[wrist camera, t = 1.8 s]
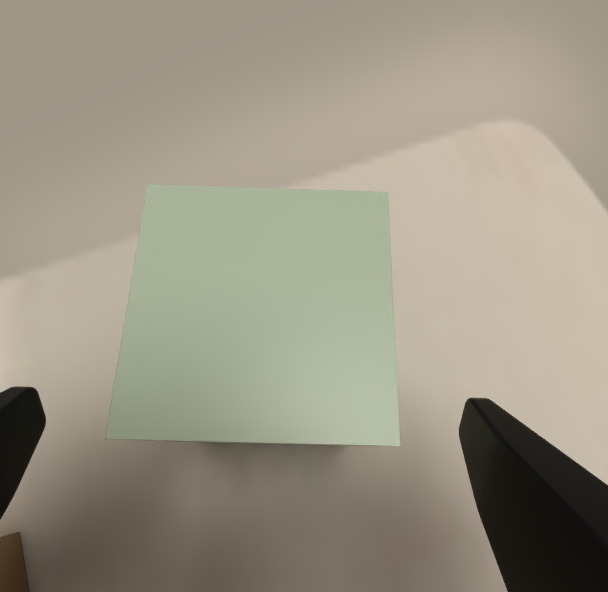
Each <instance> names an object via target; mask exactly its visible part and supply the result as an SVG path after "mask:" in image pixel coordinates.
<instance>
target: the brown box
mask: <svg viewBox="0 0 608 592" xmlns="http://www.w3.org/2000/svg"><path fill="white" fill-rule="evenodd" d="M0 592H29V589H28V583H27V577H26V571H25V565H24V559H23V553H22V547H21V541H20V535H19V532H17V533H14V534H11V535H7V536H4V537H1V538H0Z"/></svg>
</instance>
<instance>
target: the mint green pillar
mask: <svg viewBox="0 0 608 592" xmlns="http://www.w3.org/2000/svg"><path fill="white" fill-rule="evenodd" d="M105 439H123V440H151V441H179V442H211V443H252V444H293V445H335V446H400V430H399V409H398V388H397V367H396V346H395V325H394V304H393V283H392V263H391V242H390V221H389V200H388V192H371V191H340V190H309V189H278V188H247V187H215V186H185V185H153V184H152V185H151V184H147V188H146V194H145V200H144V207H143V213H142V219H141V225H140V231H139V237H138V243H137V249H136V255H135V261H134V267H133V273H132V279H131V285H130V291H129V297H128V303H127V309H126V315H125V321H124V327H123V333H122V339H121V345H120V351H119V357H118V363H117V369H116V375H115V381H114V387H113V394H112V400H111V406H110V412H109V418H108V424H107V430H106V436H105Z"/></svg>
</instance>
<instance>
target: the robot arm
mask: <svg viewBox="0 0 608 592" xmlns="http://www.w3.org/2000/svg"><path fill="white" fill-rule="evenodd" d="M45 424H46V417H45V413H44V410H43V407H42V404H41V400H40V397H39V394H38V391H37V390H36V389H35V388H33V387H11V388H9V389H7V390H5V391H3V392H1V393H0V519H1V518H2V516H3V514H4V512H5V511H6V509H7V507H8V505H9V503H10V502H11V500H12V498H13V496H14V494H15V492H16V490H17V488H18V486H19V484H20V481H21V479H22V477H23V475H24V473H25V470H26V468H27V466H28V464H29V462H30V459H31V457H32V455H33V453H34V451H35V448H36V446H37V444H38V442H39V440H40V437H41V435H42V433H43V431H44V428H45ZM459 438H460V442H461V446H462V450H463V454H464V458H465V462H466V466H467V470H468V474H469V478H470V482H471V486H472V490H473V494H474V498H475V502H476V505H477V509H478V512H479V515H480V517H481V520H482V523H483V526H484V528H485V531H486V534H487V537H488V539H489V542H490V545H491V547H492V550H493V553H494V556H495V558H496V561H497V564H498V566H499V569H500V572H501V575H502V577H503V580H504V583H505V585H506V588H507V591H508V592H608V485H607V484H605V483H604V482H603V481H601V480H600V479H598V478H597V477H596V476H594V475H593V474H592V473H590V472H589V471H587V470H586V469H585V468H583V467H582V466H581V465H579V464H578V463H576V462H575V461H574V460H572V459H571V458H570V457H568V456H567V455H565V454H564V453H563V452H561V451H560V450H559V449H557V448H556V447H554V446H553V445H552V444H550V443H549V442H548V441H546V440H545V439H543V438H542V437H541V436H539V435H538V434H537V433H535V432H534V431H532V430H531V429H530V428H528V427H527V426H526V425H524V424H523V423H521V422H520V421H519V420H517V419H516V418H515V417H513V416H512V415H510V414H509V413H508V412H506V411H505V410H504V409H502V408H501V407H499V406H498V405H497V404H495V403H494V402H493V401H491V400H489V399H487V398H469V399H467V401H466V403H465V406H464V410H463V414H462V418H461V422H460V426H459Z"/></svg>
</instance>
